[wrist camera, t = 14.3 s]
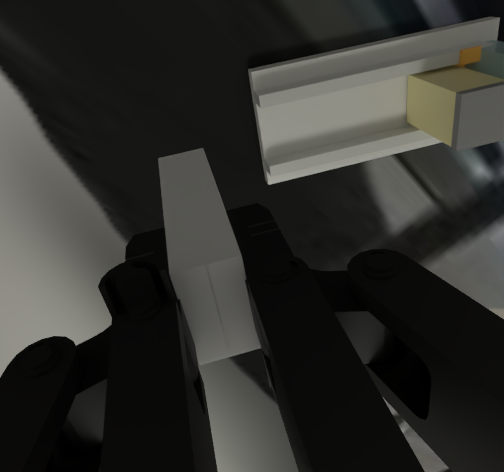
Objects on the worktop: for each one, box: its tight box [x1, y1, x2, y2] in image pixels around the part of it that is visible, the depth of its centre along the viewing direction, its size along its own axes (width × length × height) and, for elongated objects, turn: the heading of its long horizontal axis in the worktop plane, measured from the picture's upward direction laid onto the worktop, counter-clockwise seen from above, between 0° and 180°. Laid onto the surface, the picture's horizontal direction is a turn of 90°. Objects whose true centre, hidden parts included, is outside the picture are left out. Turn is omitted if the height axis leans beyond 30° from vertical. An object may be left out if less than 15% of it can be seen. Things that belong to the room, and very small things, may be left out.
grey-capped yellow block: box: [406, 65, 504, 151], centre depth 43 cm, size 5×5×9 cm
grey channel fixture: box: [248, 17, 504, 185], centre depth 43 cm, size 12×28×10 cm, turn 100°
